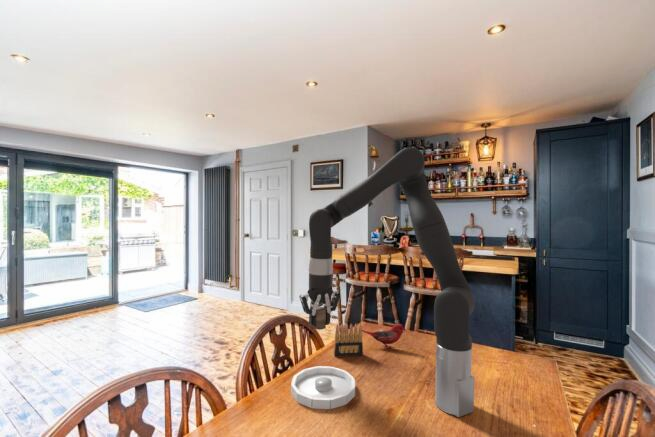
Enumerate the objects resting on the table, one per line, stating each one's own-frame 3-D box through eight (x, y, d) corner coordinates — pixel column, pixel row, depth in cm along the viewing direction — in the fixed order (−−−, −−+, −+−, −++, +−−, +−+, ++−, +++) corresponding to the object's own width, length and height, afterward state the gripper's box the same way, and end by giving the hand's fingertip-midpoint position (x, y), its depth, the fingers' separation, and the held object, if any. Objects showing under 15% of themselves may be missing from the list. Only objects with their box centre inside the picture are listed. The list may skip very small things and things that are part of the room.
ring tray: (367, 398, 93) (367, 389, 93) (306, 416, 84) (307, 406, 84) (335, 369, 110) (335, 361, 110) (283, 381, 101) (283, 374, 101)
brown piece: (327, 328, 102) (328, 309, 101) (316, 330, 100) (316, 311, 100) (322, 324, 105) (322, 306, 105) (311, 326, 103) (311, 307, 103)
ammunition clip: (361, 353, 122) (362, 322, 122) (362, 355, 121) (363, 324, 120) (334, 354, 121) (334, 323, 121) (334, 356, 119) (335, 324, 119)
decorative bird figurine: (405, 351, 125) (406, 325, 125) (360, 346, 128) (360, 321, 128) (405, 348, 128) (405, 323, 128) (361, 343, 131) (361, 319, 131)
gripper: (304, 275, 95) (303, 332, 96) (346, 272, 102) (344, 326, 102) (295, 271, 102) (294, 324, 103) (335, 268, 108) (333, 318, 109)
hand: (319, 324), depth 102 cm, fingers closed on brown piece, 4 cm apart
